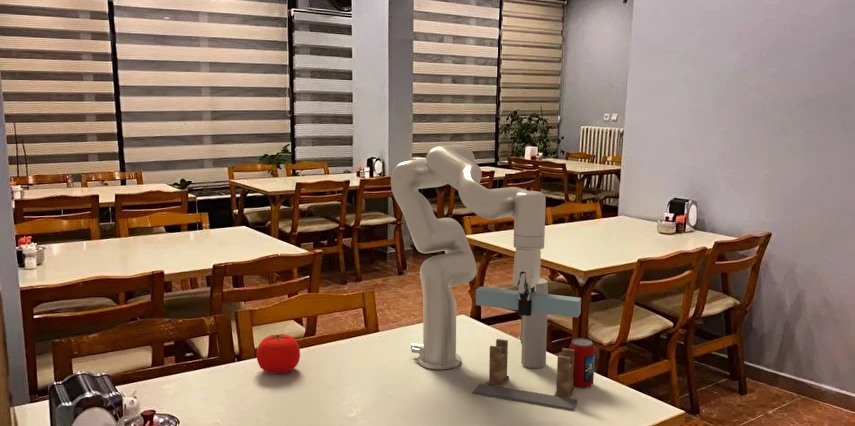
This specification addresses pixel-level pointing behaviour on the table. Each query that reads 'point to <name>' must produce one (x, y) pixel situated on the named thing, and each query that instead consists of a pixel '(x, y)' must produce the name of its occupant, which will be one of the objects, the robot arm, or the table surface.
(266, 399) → the table surface
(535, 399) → the mat
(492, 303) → the rail
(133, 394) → the table surface
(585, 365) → the beverage can
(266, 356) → the tomato
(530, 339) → the water bottle
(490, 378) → the post
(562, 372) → the post
